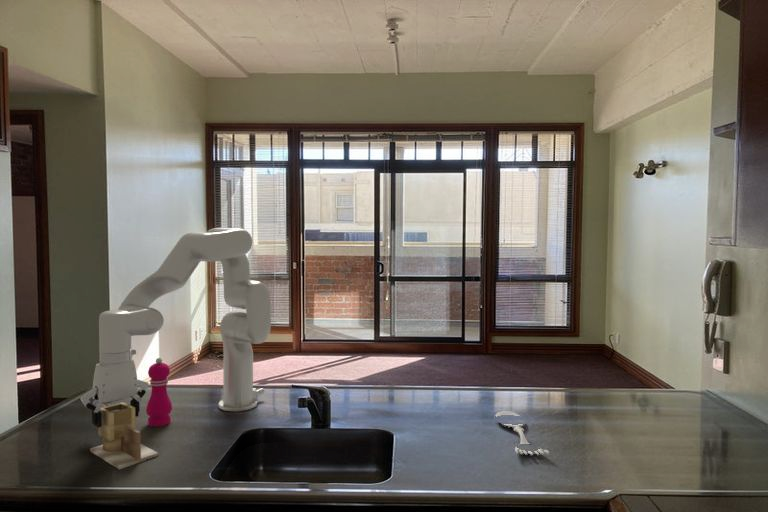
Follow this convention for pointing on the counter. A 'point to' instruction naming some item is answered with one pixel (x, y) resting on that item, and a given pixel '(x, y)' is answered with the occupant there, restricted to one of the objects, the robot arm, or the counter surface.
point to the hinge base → (124, 449)
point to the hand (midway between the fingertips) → (116, 420)
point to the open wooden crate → (116, 420)
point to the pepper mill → (159, 395)
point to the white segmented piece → (522, 436)
